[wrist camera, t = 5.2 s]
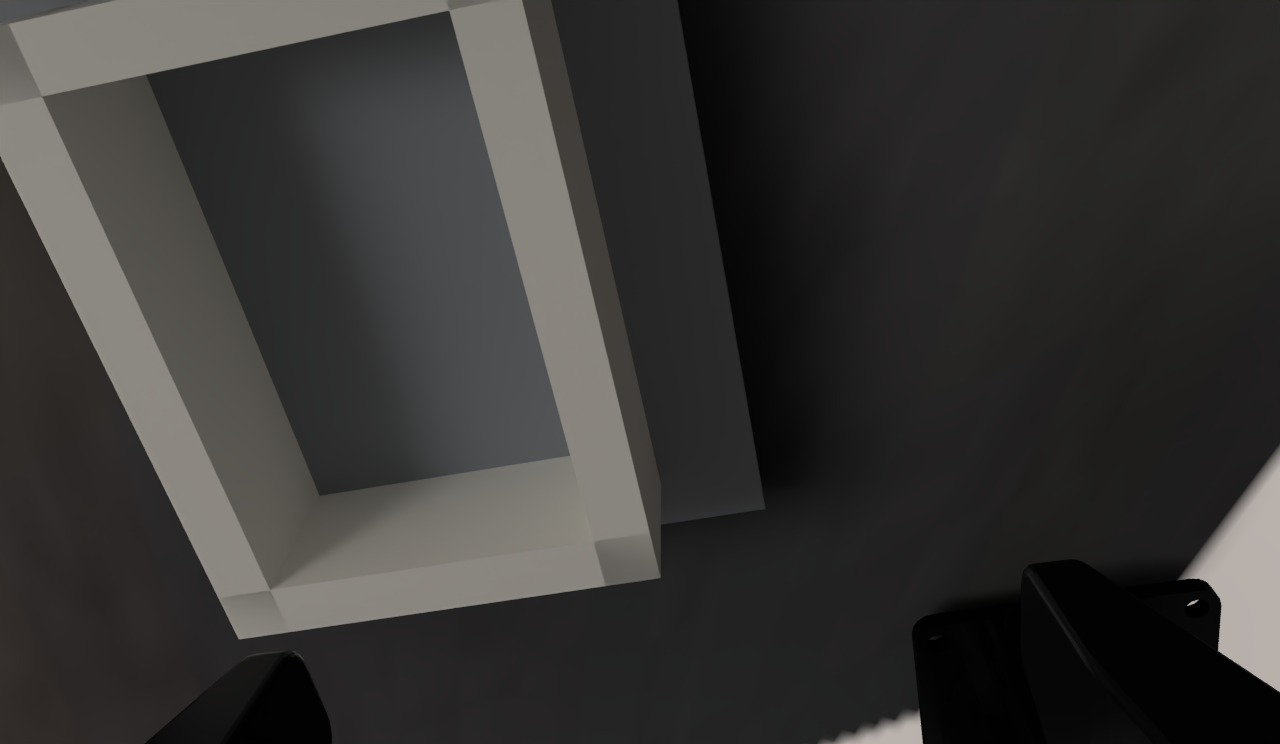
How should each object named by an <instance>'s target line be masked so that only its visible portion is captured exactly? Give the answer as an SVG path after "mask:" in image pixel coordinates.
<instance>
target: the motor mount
mask: <svg viewBox="0 0 1280 744" xmlns="http://www.w3.org/2000/svg"><path fill="white" fill-rule="evenodd" d="M0 156H1V159H2V161H3V163H4V165H5V167H6V169H7V171H8V173H9V175H10V177H11V179H12V181H13V183H14V185H15V187H16V189H17V191H18V193H19V195H20V197H21V199H22V201H23V203H24V205H25V207H26V209H27V211H28V213H29V215H30V217H31V219H32V221H33V223H34V225H35V227H36V229H37V231H38V233H39V235H40V237H41V240H42V242H43V244H44V246H45V248H46V250H47V252H48V254H49V256H50V258H51V260H52V262H53V264H54V266H55V268H56V270H57V272H58V274H59V276H60V278H61V280H62V282H63V284H64V286H65V288H66V290H67V292H68V294H69V296H70V298H71V300H72V302H73V304H74V306H75V308H76V310H77V312H78V314H79V316H80V319H81V321H82V323H83V325H84V327H85V329H86V331H87V333H88V335H89V337H90V339H91V341H92V343H93V345H94V347H95V349H96V351H97V353H98V355H99V357H100V359H101V361H102V363H103V365H104V367H105V369H106V371H107V373H108V375H109V377H110V379H111V381H112V383H113V385H114V387H115V389H116V391H117V393H118V395H119V397H120V400H121V402H122V404H123V406H124V408H125V410H126V412H127V414H128V416H129V418H130V420H131V422H132V424H133V426H134V428H135V430H136V432H137V434H138V436H139V438H140V440H141V442H142V444H143V446H144V448H145V450H146V452H147V454H148V456H149V458H150V460H151V462H152V464H153V466H154V468H155V470H156V472H157V474H158V476H159V478H160V481H161V483H162V485H163V487H164V489H165V491H166V493H167V495H168V497H169V499H170V501H171V503H172V505H173V507H174V509H175V511H176V513H177V515H178V517H179V519H180V521H181V523H182V525H183V527H184V529H185V531H186V533H187V535H188V537H189V539H190V541H191V543H192V545H193V547H194V549H195V551H196V553H197V555H198V557H199V560H200V562H201V564H202V566H203V568H204V570H205V572H206V574H207V576H208V578H209V580H210V582H211V584H212V586H213V588H214V590H215V592H216V594H217V596H218V598H219V600H220V602H221V604H222V606H223V608H224V610H225V612H226V614H227V616H228V618H229V620H230V622H231V624H232V626H233V628H234V630H235V632H236V634H237V636H238V638H239V639H245V638H252V637H259V636H265V635H272V634H279V633H286V632H293V631H300V630H307V629H314V628H320V627H327V626H334V625H341V624H348V623H355V622H362V621H368V620H375V619H382V618H389V617H396V616H403V615H410V614H417V613H423V612H430V611H437V610H444V609H451V608H458V607H465V606H472V605H478V604H485V603H492V602H499V601H506V600H513V599H520V598H527V597H533V596H540V595H547V594H554V593H561V592H568V591H575V590H582V589H588V588H595V587H602V586H609V585H616V584H623V583H630V582H636V581H643V580H650V579H657V578H661V525H662V524H669V523H675V522H682V521H688V520H695V519H702V518H708V517H715V516H721V515H728V514H735V513H741V512H748V511H754V510H761V509H765V504H764V497H763V490H762V484H761V478H760V472H759V466H758V461H757V455H756V449H755V443H754V438H753V432H752V426H751V420H750V415H749V409H748V403H747V397H746V392H745V386H744V380H743V374H742V369H741V363H740V357H739V351H738V345H737V340H736V334H735V328H734V322H733V317H732V311H731V305H730V299H729V294H728V288H727V282H726V276H725V271H724V265H723V259H722V253H721V248H720V242H719V236H718V230H717V225H716V219H715V213H714V207H713V202H712V196H711V190H710V184H709V179H708V173H707V167H706V161H705V156H704V150H703V144H702V138H701V132H700V127H699V121H698V115H697V109H696V104H695V98H694V92H693V86H692V81H691V75H690V69H689V63H688V58H687V52H686V46H685V40H684V35H683V29H682V23H681V17H680V12H679V6H678V0H0Z"/></svg>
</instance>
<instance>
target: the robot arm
mask: <svg viewBox="0 0 1280 744" xmlns="http://www.w3.org/2000/svg"><path fill="white" fill-rule="evenodd" d="M1195 600H1198V601H1197V602H1196V603H1195V604H1192V605H1189V606H1187V605H1188V604H1189V603H1190V602H1192V601H1195ZM1220 616H1221V602H1220V598H1219V597H1218V596H1217V594H1216V593H1215V592H1214V590H1213V589H1212V587H1211V586H1210V585H1209V584H1208V583H1207V582H1206V581H1203V580H1200V579H1185V580H1178V581H1170V582H1163V583H1156V584H1149V585H1141V586H1134V587H1127V588H1122V587H1121V586H1119V585H1118V584H1116V583H1115V582H1113V581H1112V580H1110V579H1109V578H1107V577H1106V576H1104V575H1103V574H1101V573H1100V572H1098V571H1097V570H1095V569H1094V568H1092V567H1090V566H1089V565H1087V564H1086V563H1084V562H1082V561H1079V560H1073V559H1069V560H1060V561H1052V562H1043V563H1034V564H1030V565H1029V566H1028V567H1027V568H1026V569H1024V572H1023V575H1022V581H1021V602H1018V603H1010V604H1003V605H996V606H989V607H981V608H974V609H967V610H960V611H952V612H945V613H938V614H932V615H928V616H925V617H923V618H922V619H920V620H919V621H917V623H916V624H915V625H914V627H913V630H912V640H913V650H914V660H915V670H916V680H917V689H918V699H919V709H920V719H921V729H922V739H923V744H1280V692H1279V691H1277V690H1276V689H1274V688H1273V687H1271V686H1270V685H1268V684H1267V683H1265V682H1263V681H1262V680H1261V679H1259V678H1258V677H1256V676H1254V675H1253V674H1252V673H1250V672H1249V671H1247V670H1246V669H1244V668H1242V667H1241V666H1240V665H1238V664H1237V663H1235V662H1233V661H1232V660H1231V659H1229V658H1228V657H1226V656H1225V655H1223V654H1222V653H1220V652H1218V642H1219V629H1220ZM936 635H943V636H942V637H941V638H939V639H936V640H929V639H930V638H931V637H933V636H936ZM145 744H332V732H331V726H330V721H329V718H328V715H327V713H326V710H325V708H324V706H323V703H322V701H321V698H320V696H319V694H318V691H317V689H316V687H315V684H314V682H313V679H312V677H311V675H310V672H309V670H308V667H307V665H306V663H305V661H304V659H303V658H302V657H301V656H300V655H299V654H298V653H297V652H294V651H291V650H285V651H277V652H268V653H259V654H254V655H250V656H247V657H245V658H244V659H242V660H241V661H240V662H238V663H237V664H236V665H235V666H234V667H233V668H231V669H230V670H229V671H228V672H227V673H226V674H225V675H223V676H222V677H221V678H220V679H219V680H218V681H216V682H215V683H214V684H213V685H212V686H211V687H209V688H208V689H207V690H206V691H205V692H204V693H203V694H201V695H200V696H199V697H198V698H197V699H196V700H194V701H193V702H192V703H191V704H190V705H189V706H187V707H186V708H185V709H184V710H183V711H182V712H181V713H179V714H178V715H177V716H176V717H175V718H174V719H172V720H171V721H170V722H169V723H168V724H167V725H165V726H164V727H163V728H162V729H161V730H160V731H159V732H157V733H156V734H155V735H154V736H153V737H152V738H150V739H149V740H148V741H147V742H146V743H145Z"/></svg>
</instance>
